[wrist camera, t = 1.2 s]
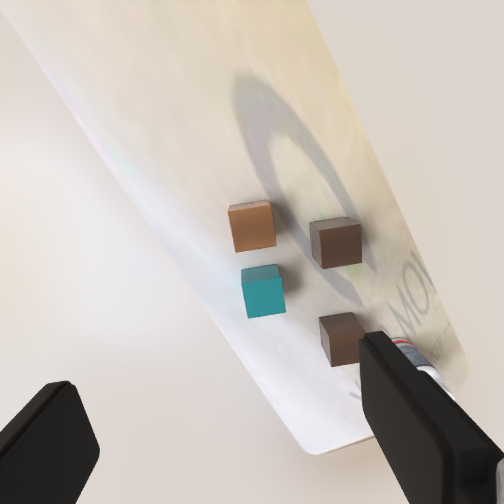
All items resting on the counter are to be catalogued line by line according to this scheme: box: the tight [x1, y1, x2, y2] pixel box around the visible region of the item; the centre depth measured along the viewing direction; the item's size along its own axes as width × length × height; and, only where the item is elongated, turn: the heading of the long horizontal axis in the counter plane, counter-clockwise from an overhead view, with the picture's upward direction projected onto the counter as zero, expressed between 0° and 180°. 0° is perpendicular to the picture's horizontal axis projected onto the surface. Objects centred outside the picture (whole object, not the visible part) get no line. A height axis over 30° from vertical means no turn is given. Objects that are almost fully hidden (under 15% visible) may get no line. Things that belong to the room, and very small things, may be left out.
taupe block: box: [309, 217, 362, 269], centre depth 32 cm, size 4×4×4 cm
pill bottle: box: [392, 338, 455, 401], centre depth 35 cm, size 5×5×9 cm
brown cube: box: [319, 312, 366, 367], centre depth 35 cm, size 4×4×4 cm
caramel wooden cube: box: [228, 200, 277, 253], centre depth 31 cm, size 4×4×4 cm
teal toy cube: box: [241, 264, 286, 319], centre depth 33 cm, size 4×4×4 cm
